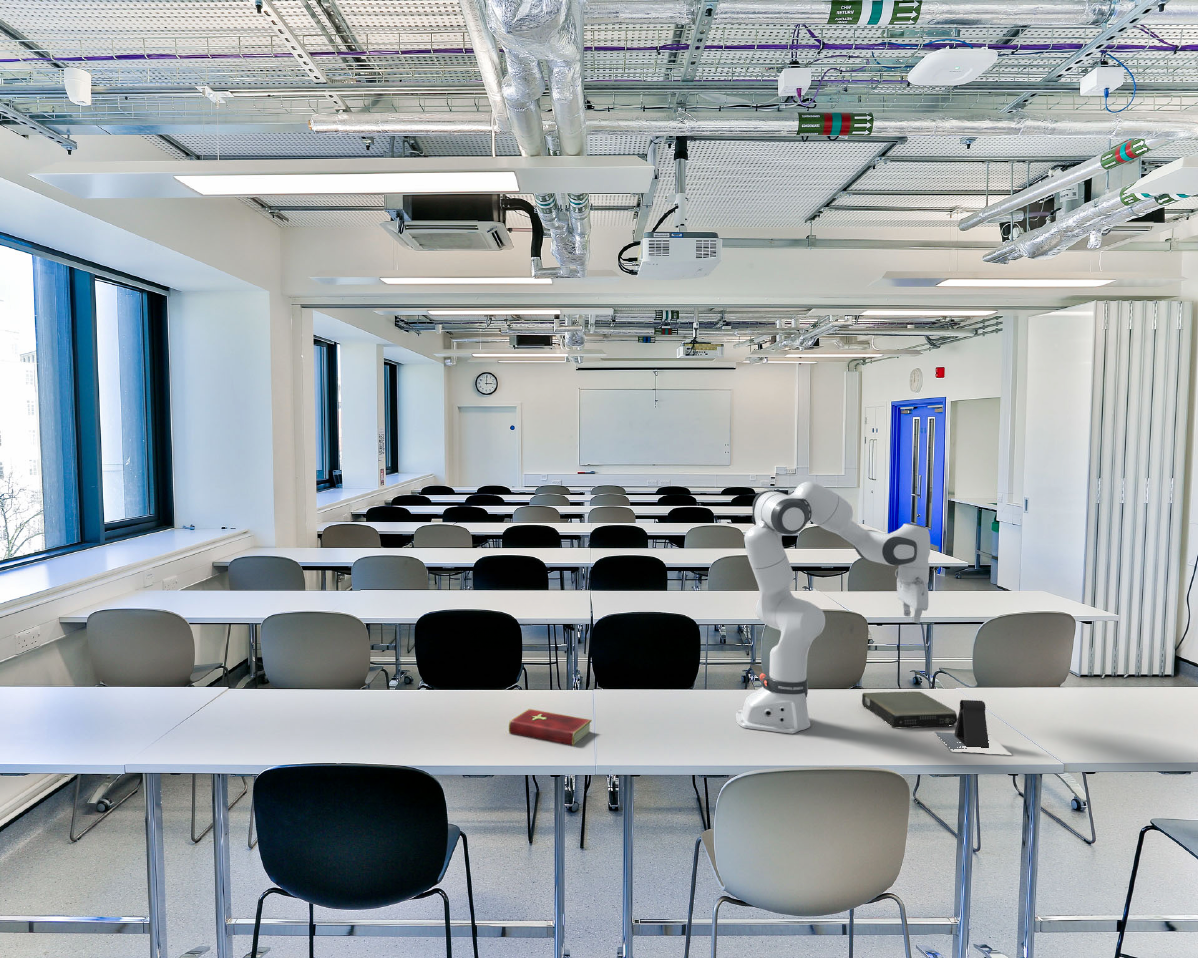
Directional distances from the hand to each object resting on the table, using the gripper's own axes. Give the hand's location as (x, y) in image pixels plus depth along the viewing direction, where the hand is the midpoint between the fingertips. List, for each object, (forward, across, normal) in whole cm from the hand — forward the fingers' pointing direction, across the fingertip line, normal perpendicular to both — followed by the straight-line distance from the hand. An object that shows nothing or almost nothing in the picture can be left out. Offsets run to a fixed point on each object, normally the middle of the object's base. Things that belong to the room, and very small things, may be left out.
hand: (911, 619), depth 234 cm
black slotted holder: (+31, -18, -13) cm, 38 cm away
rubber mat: (+32, -18, -13) cm, 39 cm away
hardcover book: (+34, -29, +109) cm, 118 cm away
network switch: (+32, +3, -1) cm, 32 cm away
